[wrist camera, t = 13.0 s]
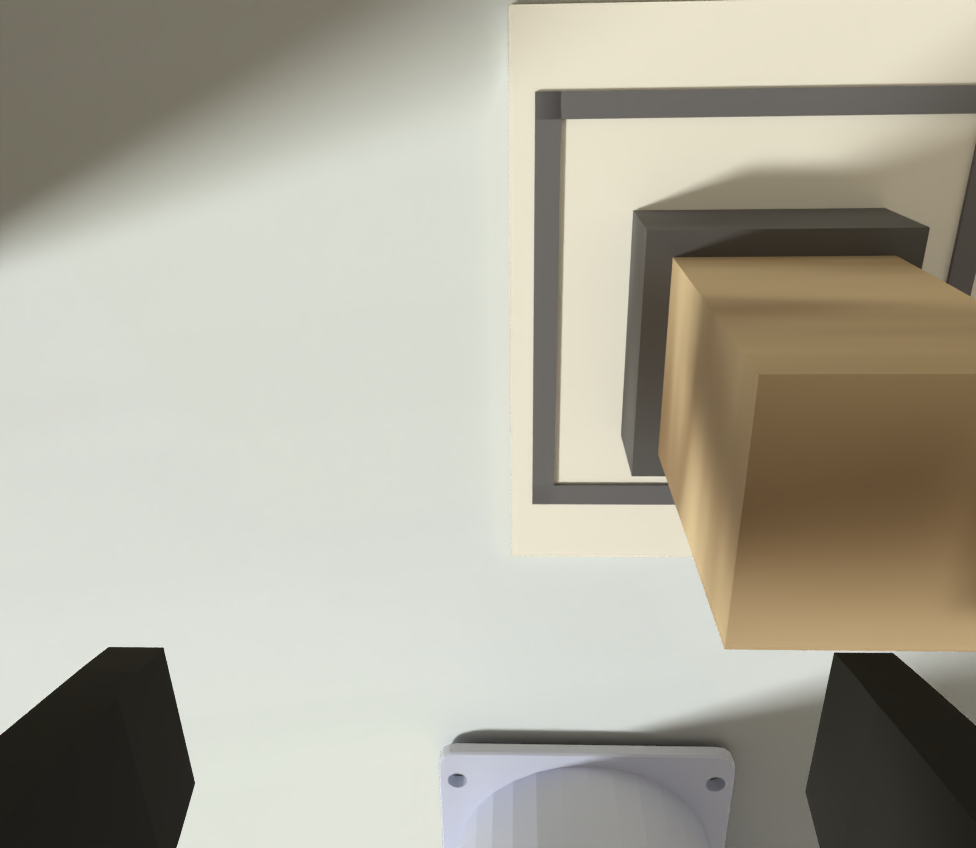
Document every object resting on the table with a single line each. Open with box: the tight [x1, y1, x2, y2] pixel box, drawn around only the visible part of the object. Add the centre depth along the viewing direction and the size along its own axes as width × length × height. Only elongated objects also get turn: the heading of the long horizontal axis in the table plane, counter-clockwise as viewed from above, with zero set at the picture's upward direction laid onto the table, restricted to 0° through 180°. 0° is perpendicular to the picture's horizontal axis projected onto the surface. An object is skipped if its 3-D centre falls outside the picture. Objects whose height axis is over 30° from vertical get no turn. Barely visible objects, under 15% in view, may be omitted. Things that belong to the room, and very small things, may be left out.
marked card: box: [509, 0, 976, 557], centre depth 18 cm, size 12×10×1 cm
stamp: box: [621, 208, 976, 652], centre depth 14 cm, size 5×5×8 cm
